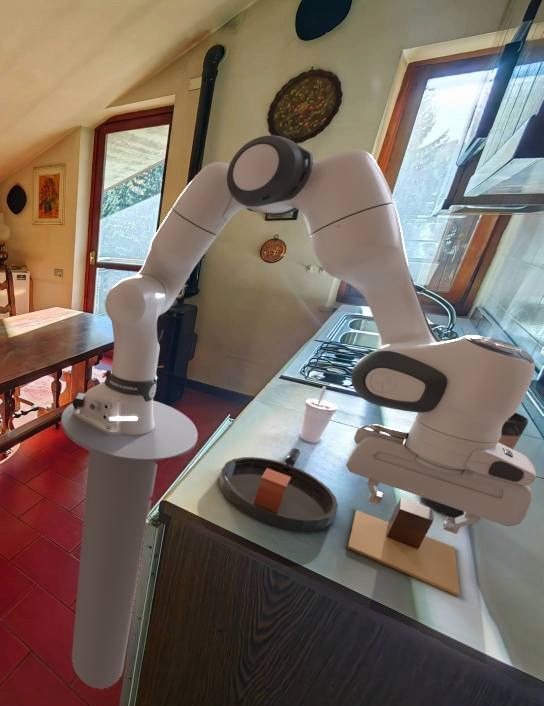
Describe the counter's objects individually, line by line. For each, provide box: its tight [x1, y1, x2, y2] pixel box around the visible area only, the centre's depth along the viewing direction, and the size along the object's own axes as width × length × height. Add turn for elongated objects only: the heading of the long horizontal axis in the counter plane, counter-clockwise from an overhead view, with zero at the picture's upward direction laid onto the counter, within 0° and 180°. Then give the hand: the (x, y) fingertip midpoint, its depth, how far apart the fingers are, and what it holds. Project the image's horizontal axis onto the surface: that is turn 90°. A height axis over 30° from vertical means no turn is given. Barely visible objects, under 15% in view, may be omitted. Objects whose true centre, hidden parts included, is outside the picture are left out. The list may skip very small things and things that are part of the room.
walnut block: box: [386, 497, 434, 549], centre depth 65 cm, size 4×4×6 cm
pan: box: [218, 456, 339, 533], centre depth 76 cm, size 19×19×2 cm
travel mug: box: [420, 412, 529, 518], centre depth 71 cm, size 8×8×20 cm
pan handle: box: [283, 447, 301, 471], centre depth 85 cm, size 2×10×2 cm, turn 137°
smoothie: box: [300, 386, 338, 444], centre depth 94 cm, size 6×6×14 cm
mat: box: [347, 509, 460, 597], centre depth 64 cm, size 13×12×1 cm
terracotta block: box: [254, 468, 291, 513], centre depth 72 cm, size 4×4×6 cm
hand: (409, 515), depth 64 cm, fingers open, 8 cm apart
